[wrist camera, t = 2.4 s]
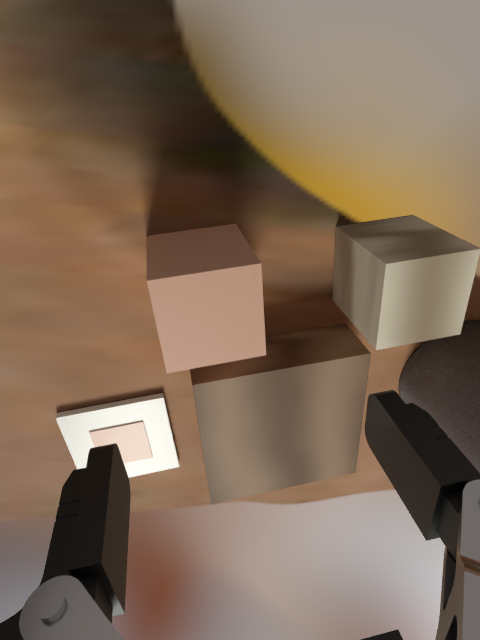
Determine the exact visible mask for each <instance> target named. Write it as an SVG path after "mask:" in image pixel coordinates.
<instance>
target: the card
mask: <svg viewBox="0 0 480 640" xmlns="http://www.w3.org/2000/svg"><path fill="white" fill-rule="evenodd" d="M56 420H57V423H58V425H59V427H60V430H61V432H62V434H63V437H64V439H65V441H66V444H67V446H68V448H69V451H70V453H71V456H72V458H73V460H74V463H75V465H76V467H77V469H82V468H86V465H87V459H88V454H89V450H90V449H91V448H94V447H99V446H104V445H109V444H114V443H116V444H117V445H118V448H119V451H120V454H121V457H122V460H123V463H124V466H125V469H126V472H127V475H128V478H130V477H134V476H139V475H144V474H148V473H153V472H157V471H162V470H167V469H171V468H176V467H179V460H178V456H177V451H176V447H175V442H174V438H173V434H172V429H171V425H170V421H169V416H168V412H167V407H166V403H165V399H164V394H163V393H159V394H154V395H148V396H143V397H138V398H133V399H127V400H122V401H117V402H112V403H106V404H101V405H96V406H90V407H85V408H80V409H75V410H69V411H64V412H59V413H57V415H56Z"/></svg>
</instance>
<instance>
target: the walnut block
mask: <svg viewBox="0 0 480 640" xmlns="http://www.w3.org/2000/svg"><path fill="white" fill-rule="evenodd" d="M265 341H266V355H265V356H259V357H254V358H248V359H243V360H237V361H232V362H227V363H221V364H216V365H210V366H205V367H199V368H194V369H190V373H191V379H192V385H193V392H194V398H195V405H196V411H197V417H198V424H199V430H200V436H201V443H202V449H203V455H204V462H205V468H206V474H207V481H208V487H209V493H210V499H211V504H215V503H219V502H224V501H228V500H233V499H237V498H242V497H246V496H251V495H255V494H260V493H264V492H269V491H273V490H278V489H283V488H287V487H292V486H296V485H301V484H305V483H310V482H314V481H319V480H323V479H328V478H332V477H337V476H341V475H346V474H350V473H355V472H356V465H357V457H358V449H359V441H360V433H361V425H362V417H363V409H364V401H365V394H366V386H367V378H368V370H369V362H370V354H371V353H370V352H369V351H368V350H367V349H366V347H365V346H364V345H363V344H362V343H361V341H360V340H359V339H358V338H357V337H356V335H355V334H354V333H353V332H352V331H351V329H350V328H349V327H348V326H347V325H346V324H343V325H337V326H331V327H325V328H319V329H313V330H307V331H301V332H295V333H289V334H282V335H276V336H270V337H265Z"/></svg>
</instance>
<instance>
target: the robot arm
mask: <svg viewBox="0 0 480 640" xmlns="http://www.w3.org/2000/svg"><path fill="white" fill-rule="evenodd" d="M365 435H366V439H367V442H368V444H369V447H370V448H371V450H372V452H373V453H374V455H375V457H376V458H377V460H378V462H379V463H380V465H381V467H382V468H383V470H384V471H385V473H386V475H387V476H388V478H389V480H390V481H391V483H392V485H393V486H394V488H395V490H396V491H397V493H398V494H399V496H400V498H401V499H402V501H403V503H404V504H405V506H406V508H407V509H408V511H409V513H410V514H411V516H412V518H413V519H414V521H415V522H416V524H417V525H418V527H419V529H420V530H421V532H422V534H423V536H424V537H425V539H426V540H431V539H435V538H439V537H440V538H441V540H442V541H443V543H444V544H445V546H446V547H445V551H444V563H443V577H442V591H441V605H440V617H439V624H438V629H437V634H436V640H480V473H479V472H478V470H477V469H476V468H475V467H474V466H473V465H472V463H471V462H470V461H469V460H468V459H467V458H466V456H465V455H464V454H463V453H462V452H461V451H460V449H459V448H458V447H457V446H456V445H455V443H454V442H453V441H452V440H451V439H450V438H448V435H447V434H446V433H445V432H444V431H443V429H442V428H440V427H439V425H438V424H437V422H436V421H435V420H434V419H433V418H432V416H431V415H430V414H429V413H428V412H426V411H425V410H423V409H422V408H420V407H419V406H417V405H415V404H414V403H409V404H405V402H404V401H403V400H402V399H401V397H400V396H399V395H398V394H397V393H396V392H395V391H394V390H390V391H385V392H379V393H374V394H370V395H369V397H368V403H367V412H366V422H365ZM129 514H130V484H129V479H128V475H127V472H126V469H125V466H124V463H123V460H122V457H121V454H120V451H119V448H118V445H117V444H116V443H114V444H109V445H104V446H99V447H94V448H91V449H90V450H89V454H88V459H87V465H86V468H82V469H77V470H73V472H72V473H71V475H70V476H69V478H68V479H67V481H66V482H65V484H64V486H63V488H62V493H61V497H60V502H59V507H58V511H57V515H56V522H55V524H54V529H53V533H52V538H51V542H50V547H49V551H48V556H47V561H46V565H45V569H44V575H43V578H42V581H41V583H40V586H39V587H38V588H37V589H36V590H35V591H34V592H33V593H32V594H31V595H30V597H29V598H28V600H27V601H26V603H25V605H24V607H23V608H22V609H21V610H20V611H19V612H18V613H16V614H15V615H14V616H12V617H10V618H9V619H7V620H5V621H4V622H2V623H0V640H123V639H122V638H121V636H120V635H119V634H118V632H117V631H116V630H115V628H114V627H113V626H112V616H116V615H120V614H124V612H125V592H126V573H127V553H128V532H129ZM362 640H403V639H402V637H401V635H400V633H399V630H394V631H391V632H387V633H384V634H380V635H376V636H372V637H369V638H365V639H362Z"/></svg>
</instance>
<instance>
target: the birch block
mask: <svg viewBox="0 0 480 640" xmlns="http://www.w3.org/2000/svg"><path fill="white" fill-rule="evenodd" d="M479 256H480V248H479V247H476V246H475V245H472V244H470V243H468V242H466V241H464V240H462V239H460V238H458V237H456V236H454V235H452V234H450V233H448V232H446V231H444V230H442V229H440V228H438V227H436V226H434V225H432V224H430V223H428V222H426V221H424V220H422V219H420V218H418V217H416V216H413V215H409V216H402V217H395V218H388V219H381V220H374V221H368V222H360V223H355V224H348V225H341V226H336V231H335V253H334V274H333V295H332V300H333V301H334V303H335V304H336V305H337V306H338V307H339V308H340V310H341V311H342V312H343V313H344V314H345V315H346V316H347V318H348V319H349V320H350V321H351V322H352V323H353V325H354V326H355V327H356V328H357V329H358V330H359V331H360V333H361V334H362V335H363V336H364V337H365V338H366V340H367V341H368V342H369V343H370V344H371V345H372V346H373V348H374V349H375V350H380V349H386V348H391V347H396V346H401V345H407V344H412V343H417V342H422V341H428V340H433V339H438V338H444V337H449V336H454V335H459V334H461V330H462V326H463V321H464V317H465V313H466V309H467V305H468V301H469V297H470V293H471V289H472V285H473V280H474V276H475V272H476V268H477V264H478V259H479Z"/></svg>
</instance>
